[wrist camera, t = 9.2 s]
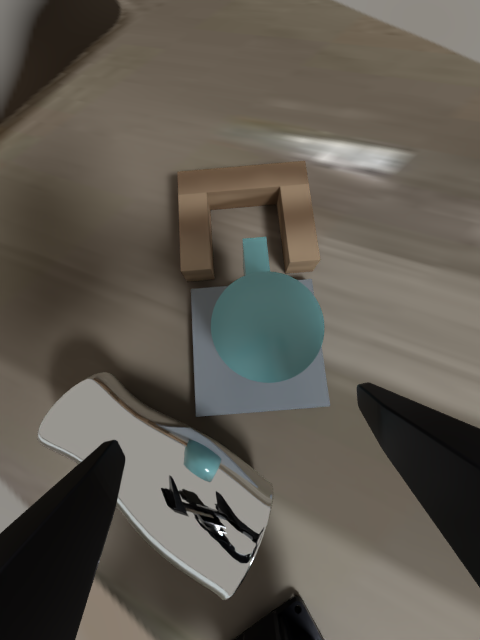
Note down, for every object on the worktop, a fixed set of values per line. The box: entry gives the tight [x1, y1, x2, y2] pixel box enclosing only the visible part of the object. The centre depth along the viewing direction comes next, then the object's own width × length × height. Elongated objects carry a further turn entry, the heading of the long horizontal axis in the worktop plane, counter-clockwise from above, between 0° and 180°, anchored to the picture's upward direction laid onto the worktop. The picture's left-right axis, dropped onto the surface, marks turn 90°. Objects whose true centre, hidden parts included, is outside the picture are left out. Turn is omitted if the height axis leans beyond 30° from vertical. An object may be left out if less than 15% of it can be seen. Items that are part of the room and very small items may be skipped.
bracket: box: [178, 161, 320, 282], centre depth 23 cm, size 10×12×2 cm
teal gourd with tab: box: [211, 237, 324, 383], centre depth 16 cm, size 8×5×10 cm, turn 4°
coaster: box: [191, 279, 330, 417], centre depth 22 cm, size 11×11×1 cm
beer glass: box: [37, 372, 273, 600], centre depth 17 cm, size 7×7×15 cm
